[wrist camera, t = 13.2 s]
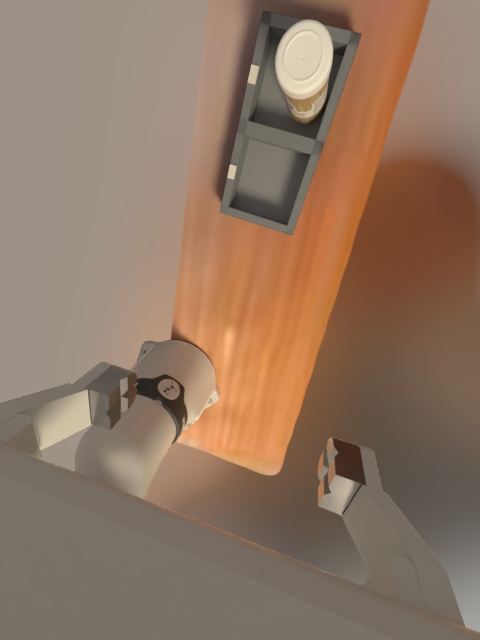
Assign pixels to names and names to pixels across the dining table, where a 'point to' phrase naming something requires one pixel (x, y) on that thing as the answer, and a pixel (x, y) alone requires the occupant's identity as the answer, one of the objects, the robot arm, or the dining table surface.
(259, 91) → the grey divided tray
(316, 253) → the dining table surface
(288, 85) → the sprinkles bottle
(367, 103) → the dining table surface
